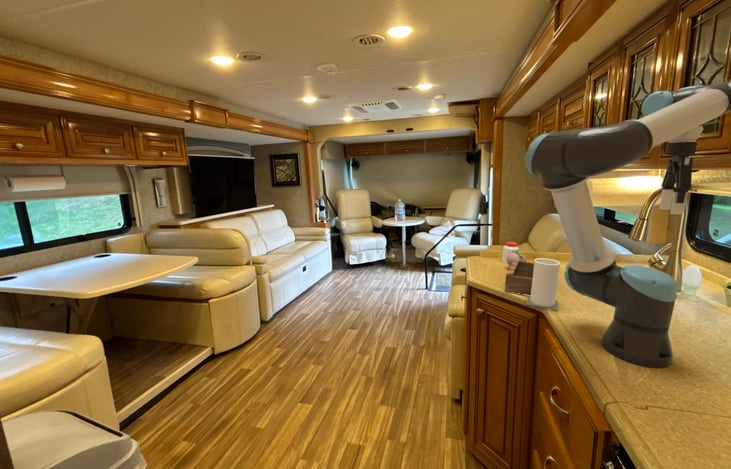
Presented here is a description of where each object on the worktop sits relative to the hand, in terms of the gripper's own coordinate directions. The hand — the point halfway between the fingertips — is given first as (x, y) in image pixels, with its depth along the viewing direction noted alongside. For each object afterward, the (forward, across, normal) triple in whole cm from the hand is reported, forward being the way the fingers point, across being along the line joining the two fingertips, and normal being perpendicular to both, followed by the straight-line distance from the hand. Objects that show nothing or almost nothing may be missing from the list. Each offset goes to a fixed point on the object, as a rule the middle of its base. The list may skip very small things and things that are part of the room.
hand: (670, 211), depth 104 cm
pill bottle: (+37, +49, +50) cm, 79 cm away
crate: (+37, +15, +38) cm, 55 cm away
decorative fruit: (+37, +37, +46) cm, 70 cm away
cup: (+36, -4, +32) cm, 49 cm away
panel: (+37, -4, +32) cm, 49 cm away
